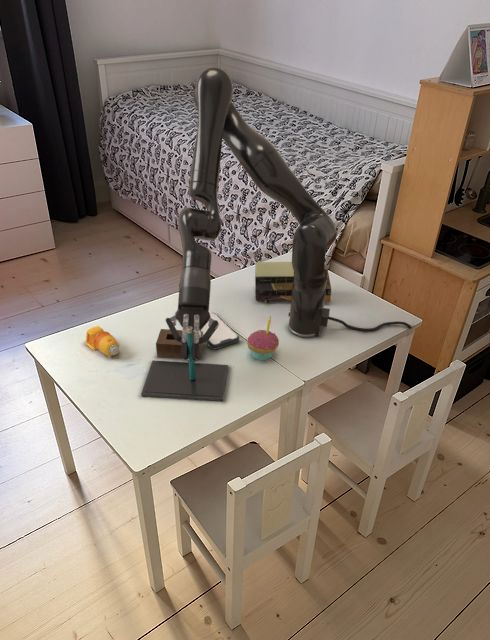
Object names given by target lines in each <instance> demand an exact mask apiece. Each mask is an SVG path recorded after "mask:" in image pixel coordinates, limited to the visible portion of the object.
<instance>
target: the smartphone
mask: <svg viewBox="0 0 490 640" xmlns="http://www.w3.org/2000/svg"><path fill="white" fill-rule="evenodd" d="M209 314H210V317H211V318H212V319H214V320H217V321H218V323H219V326H218V328H217V329H216V330H215V332H214V333H213V335H212V336H211V337H210V339H209V340H208V342H207V343H206V344H207V345H208V346H209V347H210V348H211V349H213V350H216V349H220V348H223V347H226V346H230V345H232V344H233V345H234V344H237V343H239V341H240V337H239V335H238V334H237V333H236V332H235V331H234V330H233V329H232V328H231V327H230V326H229V325H228V324H227V323H226V322H225V321H223V320H222V319H221V318H220V317H219V316H218V314H216V313H215V312H209ZM208 324H209V321H208V322H207V323H206V325H205V326H204V327H203V328H202V329H201V331H203V335H204V334H205V332H206V331H207V330H208V328H209V326H208Z"/></svg>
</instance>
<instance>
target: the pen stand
mask: <svg viewBox="0 0 490 640" xmlns="http://www.w3.org/2000/svg"><path fill="white" fill-rule="evenodd" d="M176 330H177V332H178V334H179V335H180V336H181V337H182V329H176ZM201 337H203V331H201V336H200V338H201ZM193 342H194V330H193ZM204 344H205V343H202V344H201V345H200V349H199V357H198V358H196V360H195V361H197V360H198V361H199V360H201V357H202V353H203V349H204ZM155 349H156V357H157V358H166V359H179V360H180V359H183V360H185V359H184V357H182V355H181V350H182V343H181V342H178V341H177V340H176V339H175V338H174V336H173V334H172V332H171V330H170V328H160V330H159V333H158V336H157V339H156V342H155Z"/></svg>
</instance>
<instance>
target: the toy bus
mask: <svg viewBox="0 0 490 640" xmlns="http://www.w3.org/2000/svg"><path fill="white" fill-rule="evenodd" d="M325 265H326V266H327V263H326V262H325ZM254 266H255V267H254V270H255V272H254V273H255V274H254V289H255V291H254V293H255V301H256V302H264V303H265V304H269V303H271V302H291V297H292V285H293V274H294V270H293V267H292V261H256V262H255V265H254ZM331 297H332V286H331V280H330V275H329V273H328V276H327V283H326V291H325V302H331Z"/></svg>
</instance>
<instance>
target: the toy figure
mask: <svg viewBox="0 0 490 640" xmlns="http://www.w3.org/2000/svg"><path fill="white" fill-rule="evenodd" d="M85 345H86V346H87V347H89V348H90V349H91V350H93V351H97V350H98V351H99V352H100V353H102V354H103V355H105V356H106V357H113V356H115V355H117V354H118V353H119V352H120V344H119V342H118V340H117V339H116V338H115V337H114V336H113V335H112V334H111V333H110V332H109V331H105V330H104V329H103V328H102V327H100V326H99V325H96V326H93V327H90V328H88V329H87V330H86V335H85Z"/></svg>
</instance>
